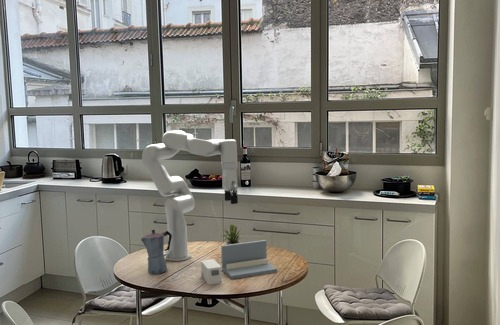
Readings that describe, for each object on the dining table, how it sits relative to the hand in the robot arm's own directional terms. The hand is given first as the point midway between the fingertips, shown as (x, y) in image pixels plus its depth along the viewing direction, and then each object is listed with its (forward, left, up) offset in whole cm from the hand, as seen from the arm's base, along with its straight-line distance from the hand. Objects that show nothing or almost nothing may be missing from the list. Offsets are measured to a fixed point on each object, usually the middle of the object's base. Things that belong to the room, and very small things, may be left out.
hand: (231, 202), depth 222 cm
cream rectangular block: (-14, -13, -31) cm, 37 cm away
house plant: (+6, +19, -31) cm, 37 cm away
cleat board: (+5, -9, -31) cm, 33 cm away
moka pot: (-34, +8, -31) cm, 47 cm away
